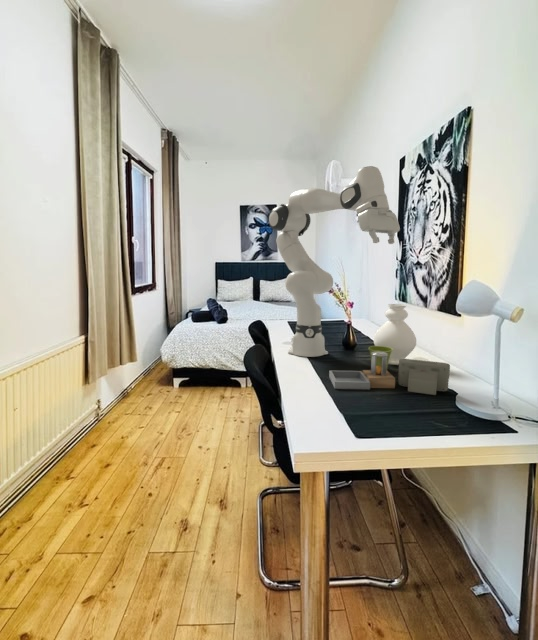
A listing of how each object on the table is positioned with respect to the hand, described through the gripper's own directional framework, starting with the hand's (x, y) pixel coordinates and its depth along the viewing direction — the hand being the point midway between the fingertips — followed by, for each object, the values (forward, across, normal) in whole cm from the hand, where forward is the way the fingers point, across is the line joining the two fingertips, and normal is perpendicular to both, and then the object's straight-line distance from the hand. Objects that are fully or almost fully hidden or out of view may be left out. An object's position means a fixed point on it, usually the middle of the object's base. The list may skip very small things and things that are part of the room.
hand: (384, 243), depth 143 cm
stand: (+50, +11, -8) cm, 52 cm away
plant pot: (+47, -5, -18) cm, 51 cm away
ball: (+46, +11, -6) cm, 47 cm away
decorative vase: (+46, -22, -22) cm, 55 cm away
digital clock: (+55, +5, +5) cm, 55 cm away
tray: (+48, +19, -14) cm, 54 cm away
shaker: (+47, +11, -6) cm, 49 cm away
